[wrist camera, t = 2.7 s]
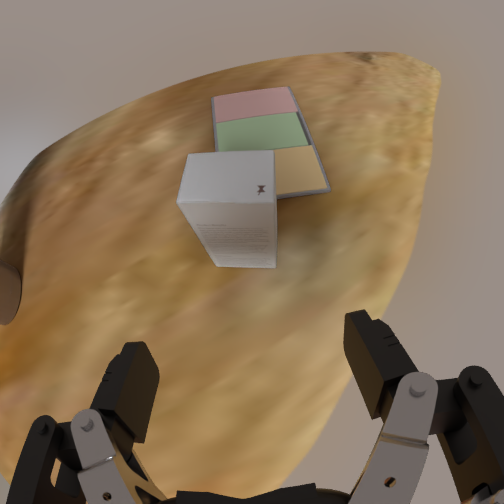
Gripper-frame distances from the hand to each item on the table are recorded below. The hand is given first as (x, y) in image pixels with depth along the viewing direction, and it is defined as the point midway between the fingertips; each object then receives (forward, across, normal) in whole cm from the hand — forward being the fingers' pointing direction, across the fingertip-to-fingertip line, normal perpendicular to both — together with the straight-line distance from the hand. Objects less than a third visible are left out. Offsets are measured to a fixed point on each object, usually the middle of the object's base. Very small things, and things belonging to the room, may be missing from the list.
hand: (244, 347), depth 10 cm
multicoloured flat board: (+28, -4, -8) cm, 29 cm away
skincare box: (+18, 0, +3) cm, 18 cm away
